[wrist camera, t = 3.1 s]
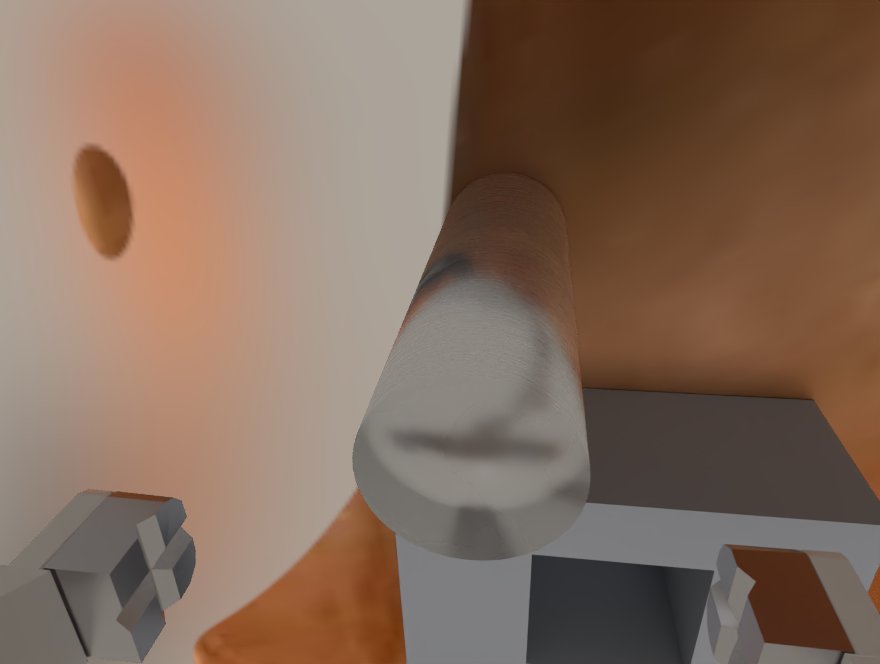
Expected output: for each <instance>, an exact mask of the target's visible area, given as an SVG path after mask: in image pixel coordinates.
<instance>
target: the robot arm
mask: <svg viewBox="0 0 880 664" xmlns="http://www.w3.org/2000/svg"><path fill="white" fill-rule="evenodd" d="M185 519H186V513H185V510H184V507H183V504H182V501H180V500H178V499H175V498H172V497H163V496H154V495H145V494H135V493H126V492H118V491H117V492H111V491H103V490H93V489H88V490H86V491H83V492H80V493H78V494H77V495H76V496H75V497H74V498H73V499H72V500H71V501H70V502H69V503H68V504H67V505H66V506H65V508H63V510H62V511H61V512H60V513H59V514H58V515H57V516H56V517H55V518H54V519H53V520H52V521H51V522H50V523H49V524H48V525H47V526H46V527H45V528H44V529H43V530H42V531H41V532H40V534H38V536H36V537H35V539H33V541H32V542H31V543H30V544H29V545H28V546H27V547H26V548H25V549H24V550H23V551H22V552H21V553H20V554H19V555H18V556H17V557H16V558H15V559H14V560H13V561H12V562H11V563H10V565H8V566H6V565H0V664H85V663H87V661H88V660H87V658H91V659H102V660H113V661H125V662H135V663H142V661H143V660H144V658H145V656H146V655H147V653H148V652H149V650H150V648H151V647H152V645H153V644H154V642H155V640H156V639H157V637H158V636H159V634H160V632H161V631H162V629H163V627H164V626H165V624H166V623H165V616H164V610H165V609H167V608H168V607H170V606H171V605H173V604H174V603H176V602H177V601H179V600H180V599H181V598H182V596H183V594H184V593H185V591H186V589H187V587H188V586H189V584H190V582H191V578H192V575H193V571H194V568H195V546H194V542H193V538H192V537H191V536H190V535H189V534H188V533H187V532H186V531H185V530H183V528H182V527H181V525H182V524H183V522H184V520H185ZM716 566H717V569H718V572H719V576H720V580H719V581H718V582H716V583H715V584H714V585H712V586H711V587H710V592H709V597H708V602H707V628H708V635H709V641H710V645H711V649H712V653H713V657H714V658H715V659H716V660H717V661H718V662H719V663H720V664H880V614H879V612H878V610H877V609H876V607H875V605H874V603H873V602H872V600H871V598H870V596H869V595H868V593H867V591H866V589H865V588H864V586H863V584H862V582H861V581H860V579H859V577H858V575H857V574H856V572H855V570H854V568H853V567H852V565H851V563H850V561H849V560H848V558H847V557H845V556H844V555H843V554H842V553H840V552H826V551H812V550H800V551H799V550H796V549H783V548H769V547H756V546H743V545H730V544H724V545H723V546H722V548H721V549H720V551H719V554H718V558H717V562H716Z"/></svg>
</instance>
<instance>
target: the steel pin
mask: <svg viewBox="0 0 880 664" xmlns="http://www.w3.org/2000/svg"><path fill="white" fill-rule="evenodd" d="M353 470H354V475H355V479H356V482H357V485H358V488H359V491H360V493H361V494H362V496H363V498H364V500H365V502H366V503H367V505H368V506H369V507H370V509H371V510H372V512H373V513H374V514H375V515H376V516H377V517H378V518H379V519H380V520H381V521H382V522H383V523H384V524H385V525H386V526H387V527H388V528H390V529H391V530H392V531H393V532H395V533H396V534H398V535H399V536H401V537H402V538H404V539H405V540H407V541H409V542H411V543H413V544H414V545H417V546H419V547H421V548H423V549H426V550H428V551H431V552H434V553H437V554H440V555H444V556H448V557H453V558H458V559H465V560H479V561H488V560H501V559H508V558H514V557H517V556H521V555H525V554H528V553H531V552H533V551H536V550H538V549H540V548H542V547H544V546H546V545H548V544H550V543H551V542H553V541H554V540H556V539H557V538H559V537H560V536H561V535H562V534H564V533H565V532H566V531H567V530H568V529H569V528H570V527H571V526H572V524H573V523H574V522H575V521H576V520H577V518H578V517H579V515H580V513H581V512H582V510H583V508H584V506H585V503H586V500H587V498H588V494H589V488H590V463H589V453H588V443H587V433H586V423H585V412H584V402H583V392H582V382H581V372H580V362H579V352H578V341H577V331H576V321H575V311H574V301H573V291H572V281H571V270H570V260H569V250H568V240H567V230H566V222H565V217H564V213H563V210H562V208H561V206H560V204H559V202H558V201H557V199H556V197H555V196H554V195H553V194H552V193H551V191H550V190H548V189H547V188H546V187H545V186H544V185H542V184H541V183H540V182H538V181H536V180H534V179H532V178H530V177H527V176H524V175H521V174H516V173H496V174H491V175H487V176H484V177H482V178H479V179H477V180H475V181H474V182H472V183H471V184H469V185H468V186H467V187H465V188H464V189H463V190H462V191H461V192H460V193H459V195H458V196H457V197H456V199H455V200H454V202H453V203H452V205H451V207H450V209H449V212H448V214H447V217H446V219H445V222H444V224H443V226H442V229H441V231H440V234H439V236H438V239H437V241H436V243H435V246H434V248H433V251H432V253H431V256H430V258H429V260H428V263H427V265H426V268H425V270H424V273H423V275H422V278H421V280H420V282H419V285H418V287H417V289H416V292H415V294H414V297H413V299H412V302H411V304H410V306H409V309H408V311H407V314H406V316H405V319H404V321H403V323H402V326H401V328H400V331H399V334H398V336H397V338H396V340H395V343H394V345H393V348H392V350H391V353H390V355H389V358H388V360H387V362H386V365H385V367H384V370H383V372H382V375H381V377H380V379H379V382H378V384H377V387H376V389H375V391H374V394H373V396H372V399H371V401H370V404H369V406H368V408H367V411H366V414H365V416H364V418H363V421H362V423H361V426H360V428H359V430H358V433H357V436H356V439H355V443H354V448H353Z"/></svg>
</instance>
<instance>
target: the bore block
mask: <svg viewBox="0 0 880 664" xmlns="http://www.w3.org/2000/svg"><path fill="white" fill-rule="evenodd" d="M582 392H583V402H584V412H585V423H586V433H587V443H588V453H589V463H590V488H589V494H588V498H587V500H586V503H585V506H584V508H583V510H582V512H581V513H580V515H579V517H578V518H577V520H576V521H575V522H574V523H573V524H572V526H571V527H570V528H569V529H568V530H567V531H566V532H565V533H564V534H562V535H561V536H560V537H559V538H557V539H556V540H554V541H553V542H551V543H550V544H548V545H546V546H544V547H542V548H540V549H538V550H536V551H533V552H531V553H528V554H525V555H521V556H517V557H514V558H508V559H501V560H488V561H479V560H465V559H458V558H453V557H448V556H444V555H440V554H437V553H434V552H431V551H428V550H426V549H423V548H421V547H419V546H417V545H414V544H413V543H411V542H409V541H407V540H405V539H404V538H402V537H401V536H399V535H398V534H396V533H395V535H396V546H397V557H398V569H399V580H400V591H401V602H402V614H403V625H404V636H405V648H406V659H407V664H720V663H719V662H718V661H717V660H716V659H715V658H714V657H713V653H712V649H711V645H710V641H709V635H708V628H707V602H708V597H709V592H710V587H711V586H712V585H714V584H715V583H716V582H718V581H719V580H720V576H719V572H718V569H717V566H716V562H717V558H718V554H719V551H720V549H721V548H722V546H723V545H724V544H730V545H743V546H756V547H769V548H783V549H796V550H799V551H800V550H812V551H826V552H840V553H842V554H843V555H844V556H845V557H847V558H848V560H849V561H850V563H851V565H852V567H853V568H854V570H855V572H856V574H857V575H858V577H859V579H860V581H861V582H862V584H863V586H864V588H865V589H866V591H867V592H868V590H869V588H870V585H871V583H872V581H873V578H874V576H875V574H876V571H877V569H878V567H879V564H880V501H879V500H878V498H877V497H876V495H875V494H874V492H873V491H872V489H871V488H870V486H869V485H868V483H867V481H866V480H865V478H864V477H863V475H862V474H861V472H860V471H859V469H858V468H857V466H856V465H855V463H854V461H853V460H852V458H851V457H850V455H849V454H848V452H847V451H846V449H845V448H844V446H843V445H842V443H841V441H840V440H839V438H838V437H837V435H836V434H835V432H834V431H833V429H832V428H831V426H830V425H829V423H828V422H827V420H826V418H825V417H824V415H823V414H822V412H821V411H820V409H819V408H818V406H817V405H816V403H815V402H814V400H799V399H780V398H761V397H742V396H723V395H703V394H684V393H665V392H646V391H627V390H608V389H589V388H582Z"/></svg>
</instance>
